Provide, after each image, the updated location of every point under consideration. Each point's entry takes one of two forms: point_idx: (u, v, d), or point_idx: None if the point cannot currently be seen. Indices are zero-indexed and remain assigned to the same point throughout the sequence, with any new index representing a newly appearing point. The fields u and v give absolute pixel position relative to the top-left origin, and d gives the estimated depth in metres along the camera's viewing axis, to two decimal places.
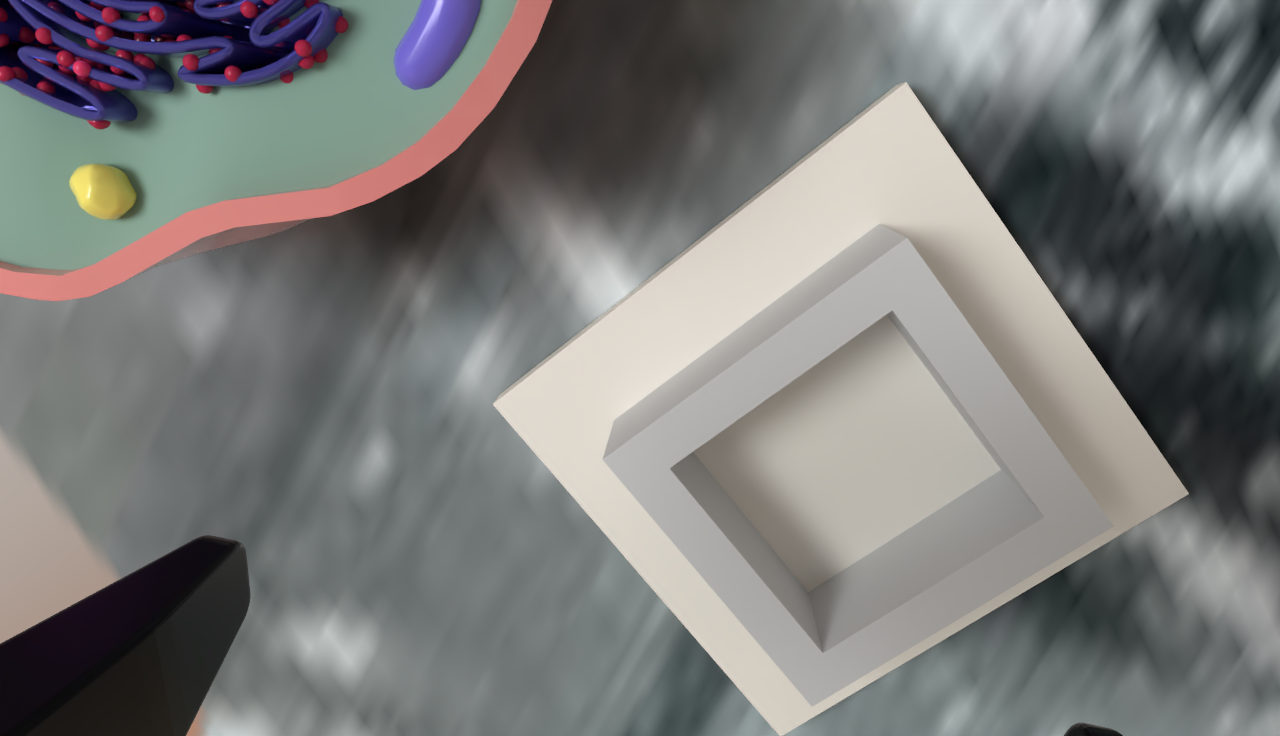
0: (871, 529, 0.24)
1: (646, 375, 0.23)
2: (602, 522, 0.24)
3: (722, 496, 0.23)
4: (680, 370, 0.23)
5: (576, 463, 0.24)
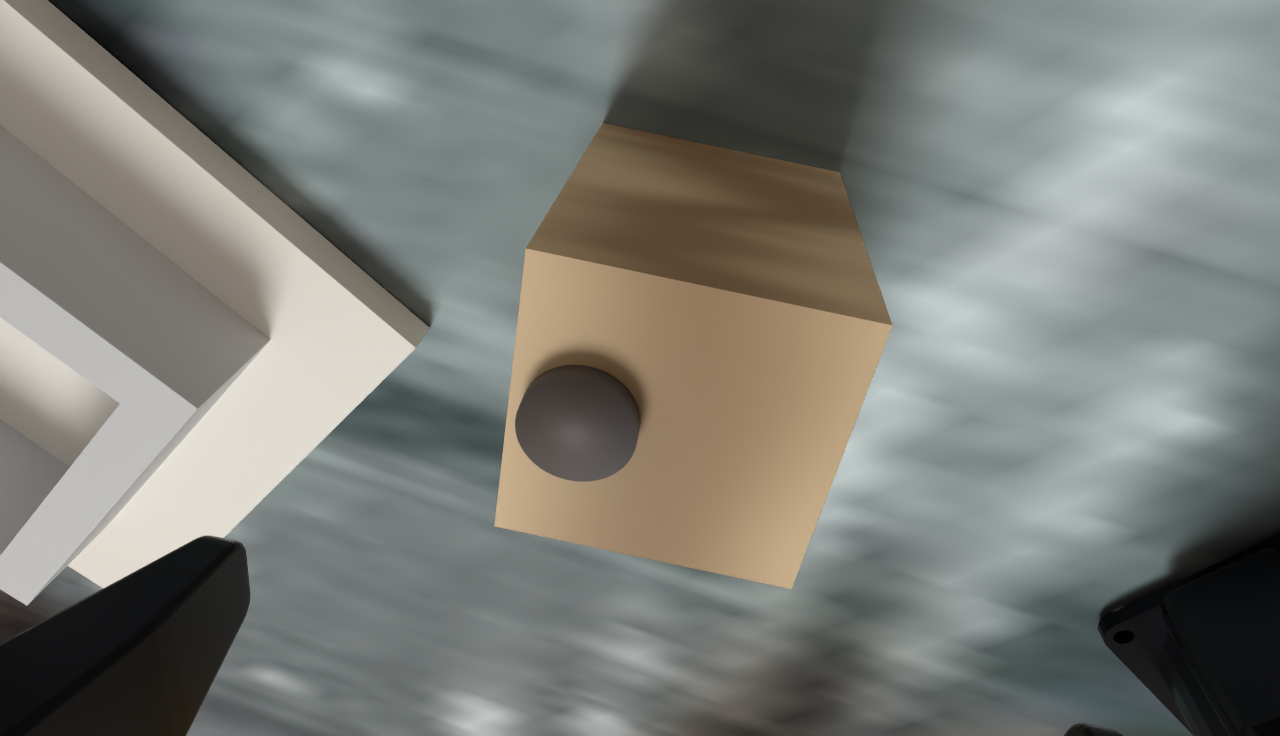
0: None
1: None
2: (215, 535, 0.23)
3: None
4: None
5: None
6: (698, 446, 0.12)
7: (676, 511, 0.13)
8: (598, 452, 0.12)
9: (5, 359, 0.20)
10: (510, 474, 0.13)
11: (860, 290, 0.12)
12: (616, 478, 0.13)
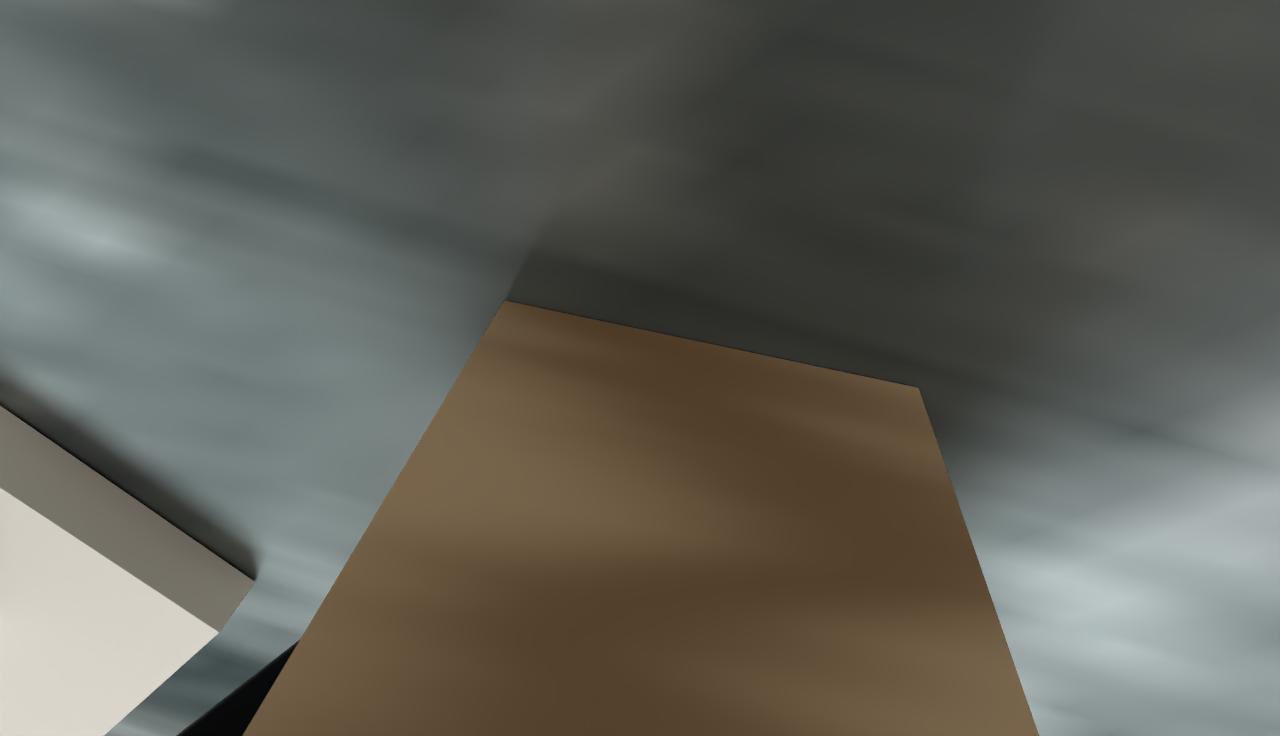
0: None
1: None
2: None
3: None
4: None
5: None
6: None
7: None
8: None
9: None
10: None
11: None
12: None
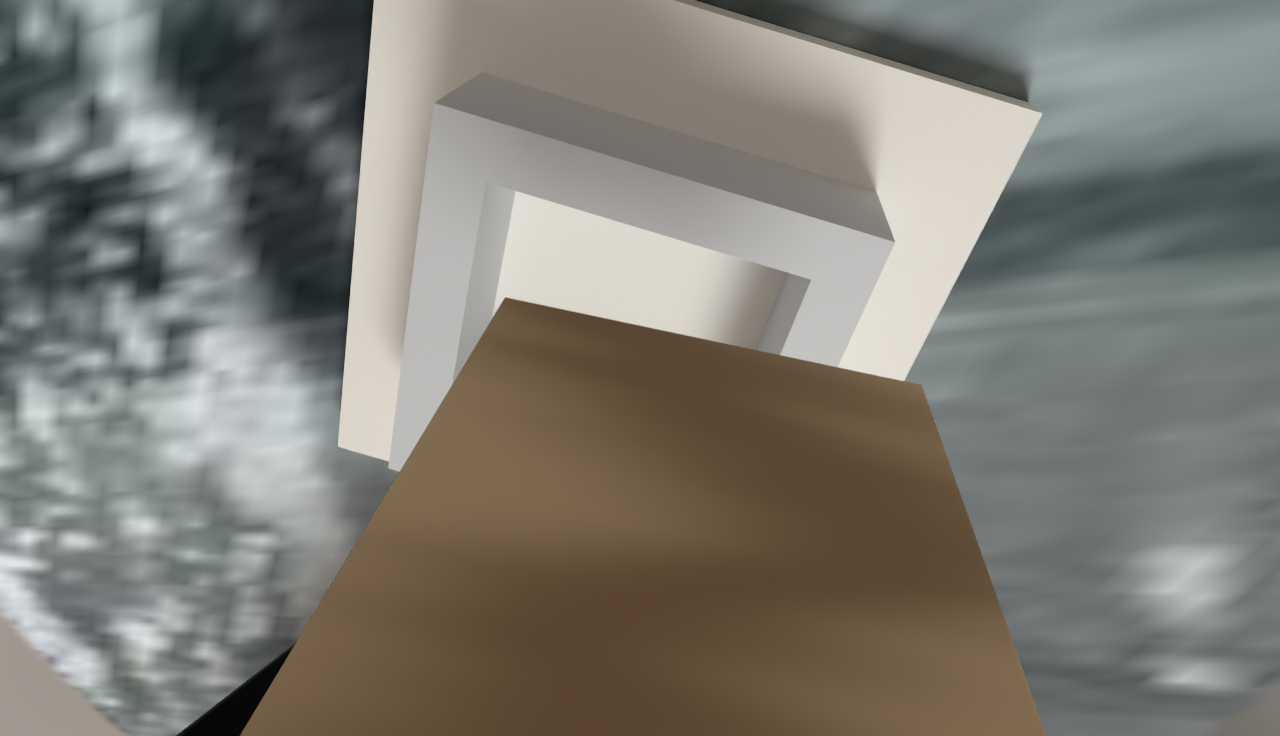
0: None
1: None
2: None
3: None
4: None
5: None
6: None
7: None
8: None
9: None
10: None
11: None
12: None
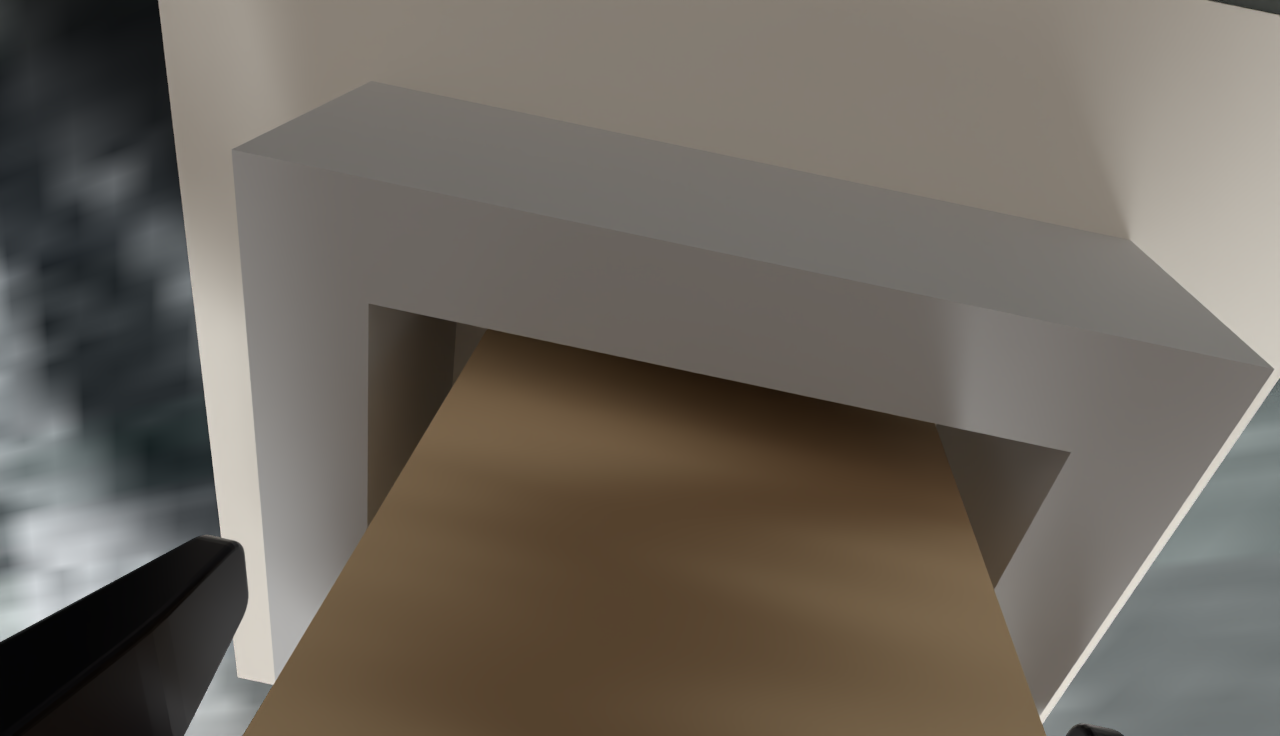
0: None
1: None
2: None
3: None
4: None
5: None
6: None
7: None
8: None
9: None
10: None
11: None
12: None
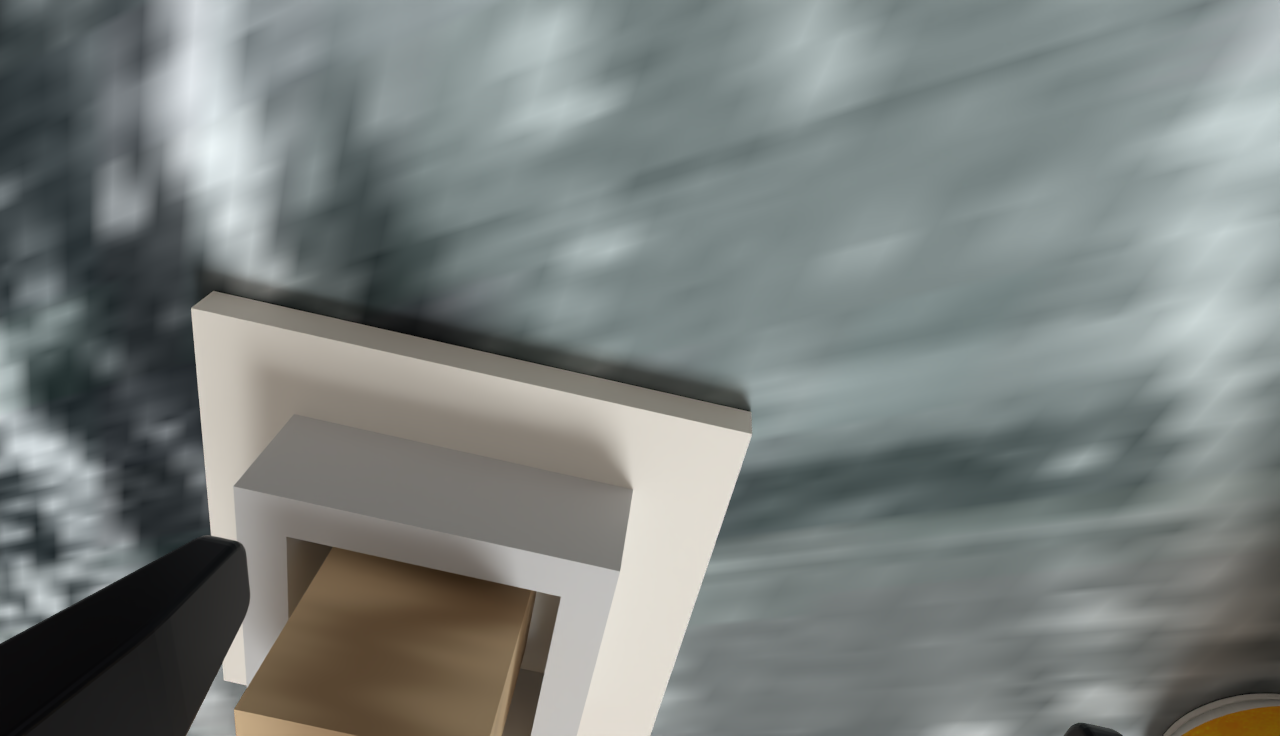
0: None
1: None
2: (663, 675, 0.25)
3: None
4: None
5: (633, 710, 0.26)
6: None
7: None
8: None
9: None
10: None
11: (479, 717, 0.17)
12: None
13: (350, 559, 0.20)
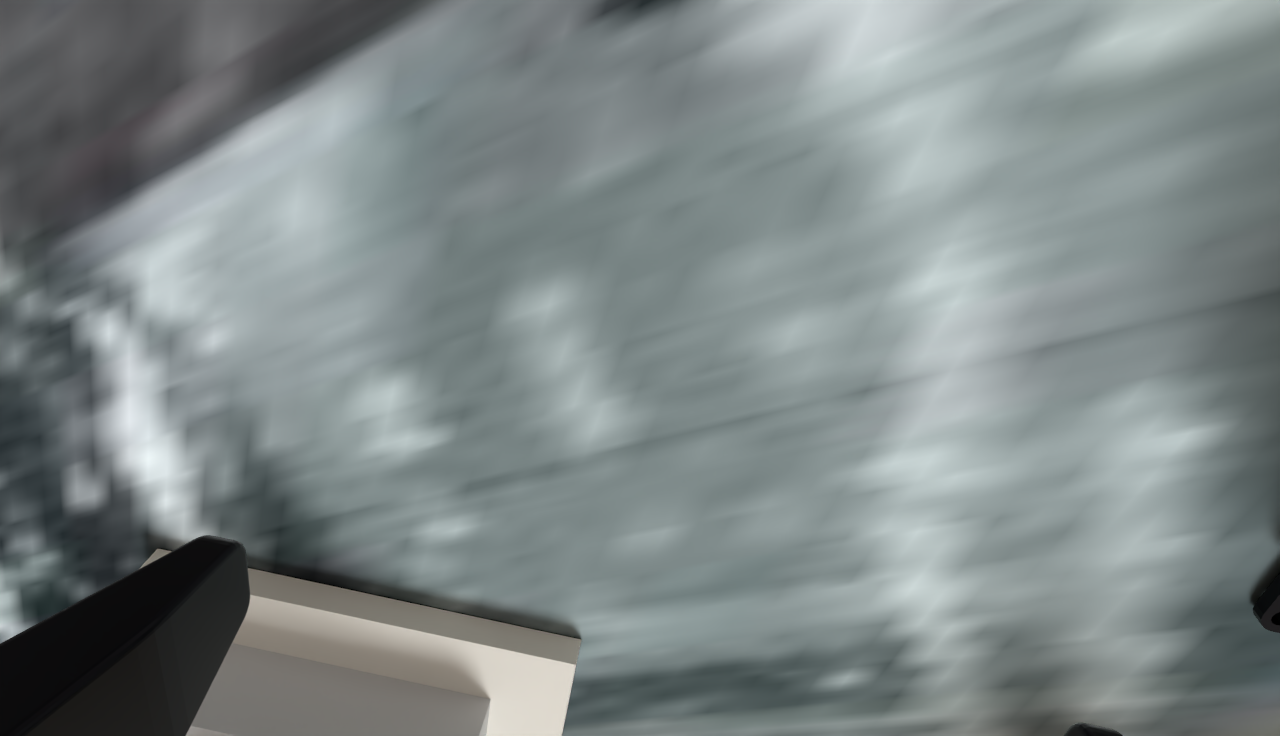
0: None
1: None
2: None
3: None
4: None
5: None
6: None
7: None
8: None
9: None
10: None
11: None
12: None
13: None
